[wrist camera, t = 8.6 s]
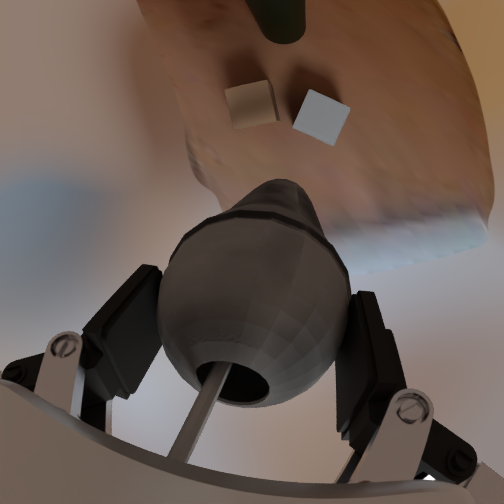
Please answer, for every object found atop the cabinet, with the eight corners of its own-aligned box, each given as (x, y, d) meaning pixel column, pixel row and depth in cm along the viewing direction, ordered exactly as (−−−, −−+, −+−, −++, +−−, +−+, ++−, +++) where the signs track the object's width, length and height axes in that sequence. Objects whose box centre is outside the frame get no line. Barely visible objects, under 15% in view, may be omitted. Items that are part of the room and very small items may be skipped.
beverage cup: (342, 233, 20) (386, 544, 3) (258, 263, 23) (170, 529, 5) (305, 144, 18) (297, 573, 1) (216, 184, 21) (-12, 417, 3)
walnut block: (234, 93, 32) (224, 89, 28) (272, 85, 31) (266, 79, 26) (242, 128, 34) (233, 129, 30) (280, 121, 33) (276, 120, 28)
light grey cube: (308, 94, 30) (309, 88, 26) (344, 110, 30) (350, 108, 26) (293, 127, 33) (292, 127, 28) (329, 143, 33) (333, 146, 28)
